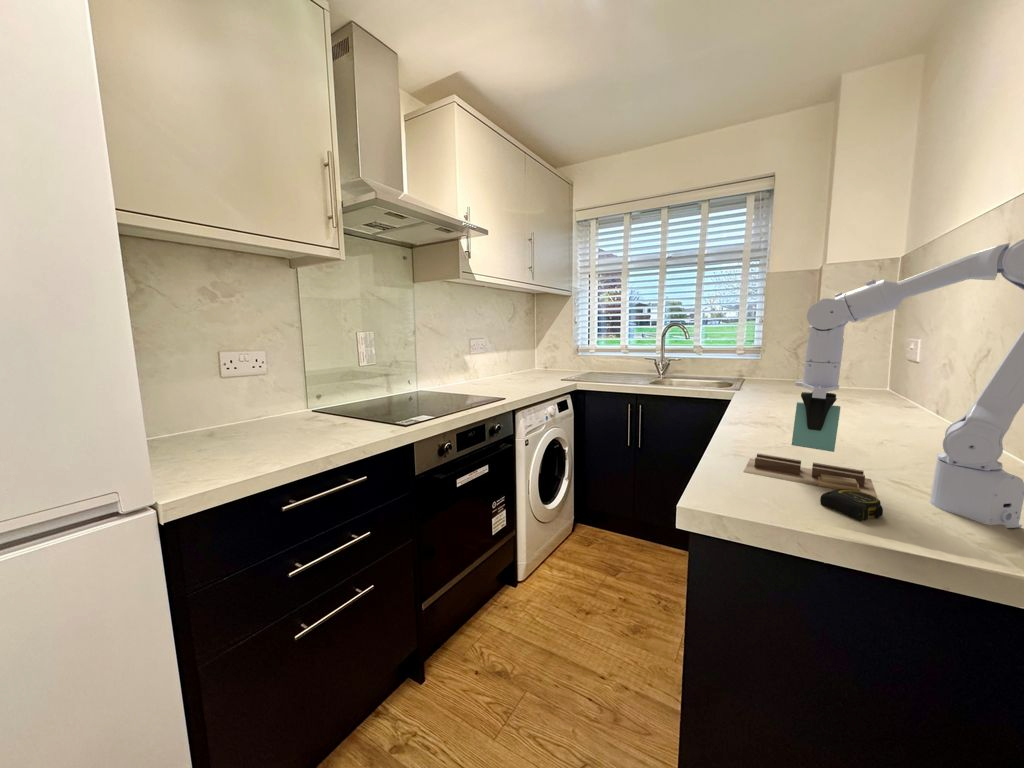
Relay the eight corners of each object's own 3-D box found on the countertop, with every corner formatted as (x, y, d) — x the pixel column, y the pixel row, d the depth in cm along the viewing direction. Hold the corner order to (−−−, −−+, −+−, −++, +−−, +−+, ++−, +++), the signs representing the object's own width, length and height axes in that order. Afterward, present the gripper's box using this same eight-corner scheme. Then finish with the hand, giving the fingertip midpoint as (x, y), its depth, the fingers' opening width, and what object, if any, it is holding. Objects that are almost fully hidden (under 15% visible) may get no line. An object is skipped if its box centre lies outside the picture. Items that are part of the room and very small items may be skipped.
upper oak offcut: (857, 487, 75) (857, 483, 75) (821, 481, 78) (822, 477, 78) (854, 483, 77) (855, 479, 77) (820, 477, 80) (820, 473, 80)
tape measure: (816, 509, 70) (818, 489, 70) (848, 506, 72) (850, 485, 71) (857, 528, 64) (860, 506, 63) (891, 524, 65) (894, 502, 65)
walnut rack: (876, 502, 73) (878, 486, 72) (742, 476, 85) (744, 462, 85) (870, 483, 82) (872, 469, 81) (749, 462, 94) (750, 449, 94)
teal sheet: (834, 452, 81) (840, 407, 79) (791, 445, 85) (796, 402, 83) (833, 450, 82) (840, 406, 81) (791, 443, 86) (797, 401, 85)
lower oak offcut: (858, 493, 75) (859, 488, 74) (818, 485, 78) (818, 481, 78) (857, 487, 77) (858, 483, 77) (817, 480, 81) (818, 476, 80)
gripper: (799, 358, 89) (792, 419, 91) (796, 363, 77) (788, 432, 79) (840, 360, 85) (832, 424, 87) (844, 365, 73) (834, 439, 75)
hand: (814, 428), depth 83 cm, fingers closed on teal sheet, 1 cm apart
